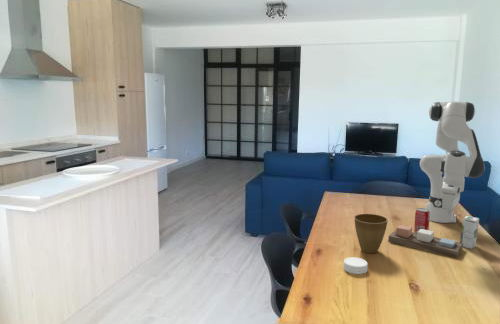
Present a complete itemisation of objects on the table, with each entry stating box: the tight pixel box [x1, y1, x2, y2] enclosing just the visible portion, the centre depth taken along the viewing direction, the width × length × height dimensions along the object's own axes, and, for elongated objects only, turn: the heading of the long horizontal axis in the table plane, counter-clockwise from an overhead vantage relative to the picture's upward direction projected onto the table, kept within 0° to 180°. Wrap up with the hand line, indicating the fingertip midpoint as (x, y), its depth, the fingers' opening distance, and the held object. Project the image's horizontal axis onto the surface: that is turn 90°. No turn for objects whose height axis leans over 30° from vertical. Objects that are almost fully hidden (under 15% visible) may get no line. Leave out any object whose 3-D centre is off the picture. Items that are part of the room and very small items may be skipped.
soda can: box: [413, 207, 431, 233], centre depth 202 cm, size 7×7×13 cm
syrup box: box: [459, 215, 480, 250], centre depth 184 cm, size 6×6×14 cm
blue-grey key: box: [439, 237, 457, 248], centre depth 180 cm, size 6×6×4 cm
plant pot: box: [354, 213, 388, 254], centre depth 178 cm, size 15×15×16 cm
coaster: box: [342, 256, 369, 275], centre depth 160 cm, size 10×10×4 cm
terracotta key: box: [395, 224, 413, 238], centre depth 191 cm, size 6×6×4 cm
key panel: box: [387, 229, 463, 259], centre depth 186 cm, size 13×31×3 cm, turn 52°
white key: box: [417, 229, 434, 243], centre depth 185 cm, size 6×6×4 cm
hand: (450, 214), depth 177 cm, fingers closed
